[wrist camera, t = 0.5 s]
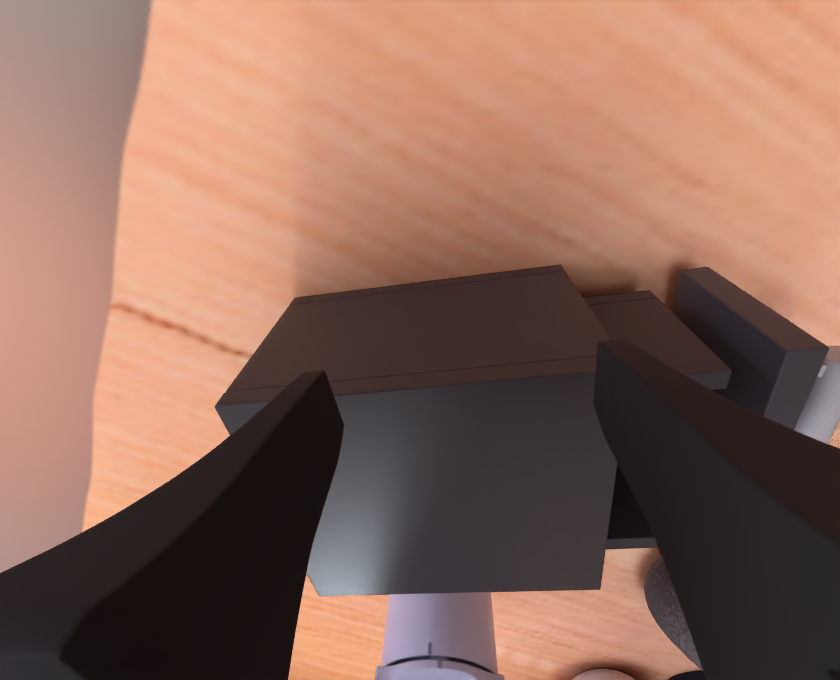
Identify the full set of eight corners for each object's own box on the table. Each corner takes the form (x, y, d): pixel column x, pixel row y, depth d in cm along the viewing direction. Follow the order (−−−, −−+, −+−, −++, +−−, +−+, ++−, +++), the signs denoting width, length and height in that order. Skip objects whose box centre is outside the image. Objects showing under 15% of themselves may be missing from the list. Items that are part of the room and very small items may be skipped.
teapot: (857, 584, 32) (1008, 765, 23) (651, 615, 36) (714, 778, 27) (874, 420, 23) (1124, 609, 15) (602, 486, 27) (672, 663, 19)
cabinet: (561, 264, 19) (631, 368, 12) (556, 448, 26) (600, 590, 18) (294, 297, 21) (213, 406, 14) (352, 462, 27) (318, 596, 20)
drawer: (811, 253, 17) (992, 333, 12) (744, 440, 23) (843, 555, 18) (432, 298, 20) (427, 384, 14) (458, 459, 25) (461, 567, 20)
